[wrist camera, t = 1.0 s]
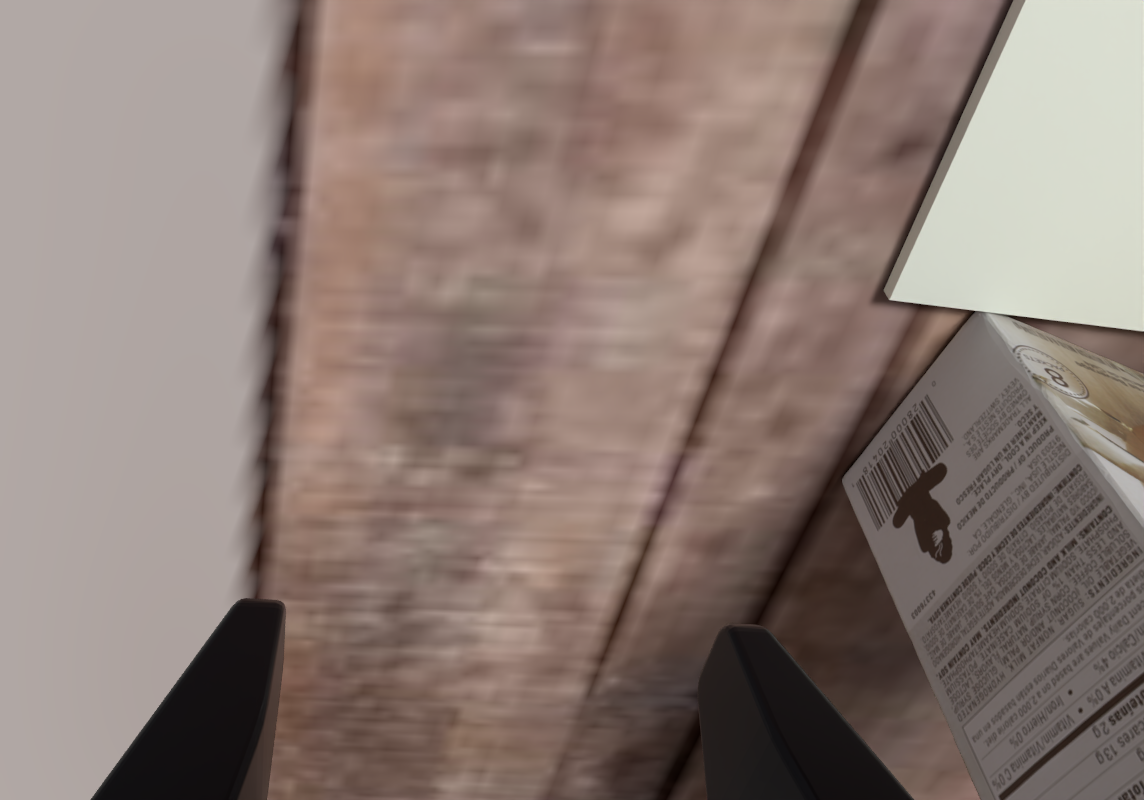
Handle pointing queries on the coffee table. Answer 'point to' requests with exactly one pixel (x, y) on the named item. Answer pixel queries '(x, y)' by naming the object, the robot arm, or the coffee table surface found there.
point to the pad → (1042, 175)
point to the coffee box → (1020, 556)
